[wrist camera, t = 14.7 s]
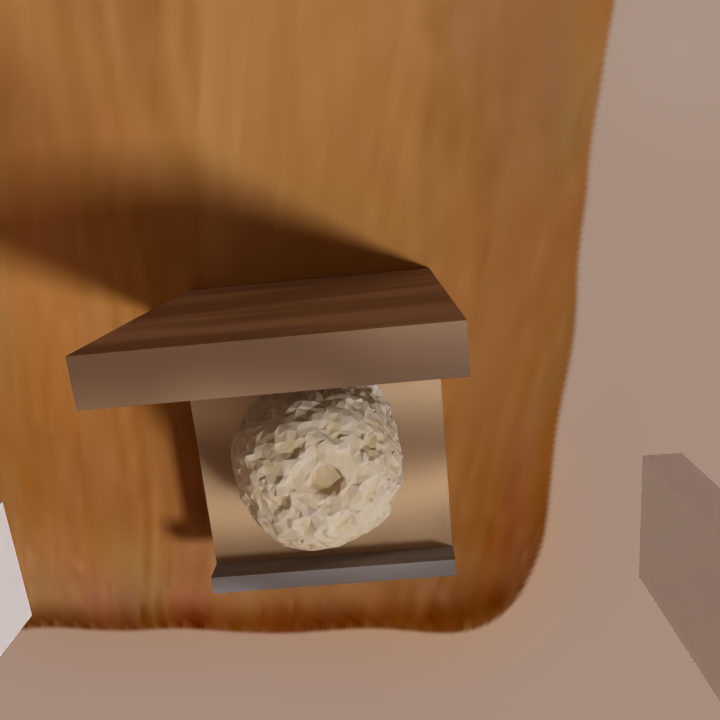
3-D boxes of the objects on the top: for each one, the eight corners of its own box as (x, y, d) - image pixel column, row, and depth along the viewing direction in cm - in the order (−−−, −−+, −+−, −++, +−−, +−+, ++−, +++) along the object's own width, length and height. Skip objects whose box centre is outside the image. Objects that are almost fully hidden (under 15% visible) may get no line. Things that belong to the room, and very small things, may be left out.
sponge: (354, 348, 41) (255, 314, 32) (466, 458, 36) (388, 453, 28) (263, 460, 42) (147, 457, 34) (360, 578, 38) (256, 609, 29)
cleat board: (187, 290, 39) (65, 356, 23) (428, 267, 38) (466, 320, 23) (229, 552, 43) (149, 756, 28) (447, 535, 42) (491, 734, 27)
